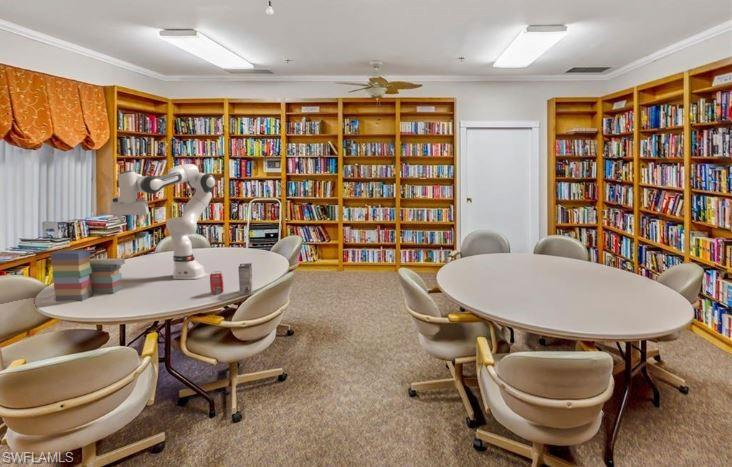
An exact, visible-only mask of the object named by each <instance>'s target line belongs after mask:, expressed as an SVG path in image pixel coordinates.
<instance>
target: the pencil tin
mask: <svg viewBox="0 0 732 467" xmlns="http://www.w3.org/2000/svg"><path fill="white" fill-rule="evenodd" d="M125 262H126V261H125V258H90V265H121V266H123V265H125Z"/></svg>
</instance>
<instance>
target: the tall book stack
mask: <svg viewBox="0 0 732 467" xmlns="http://www.w3.org/2000/svg"><path fill="white" fill-rule="evenodd" d="M49 255H50V265H51V267H52V271H51V273H52V280H53V288H54V297H55V298H54V299H55V301H56V302H82V301H83V302H84V301H85V300H87V299H89V298H92V297H93V296H94V294H93V290H91V285H92V284H93V283H92V278H90V276H89V274H90V273H92V269H91V267H90V259H91V257H90V256H91V250H90V249H62V250H58V251H55V252H51V253H49Z"/></svg>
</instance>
